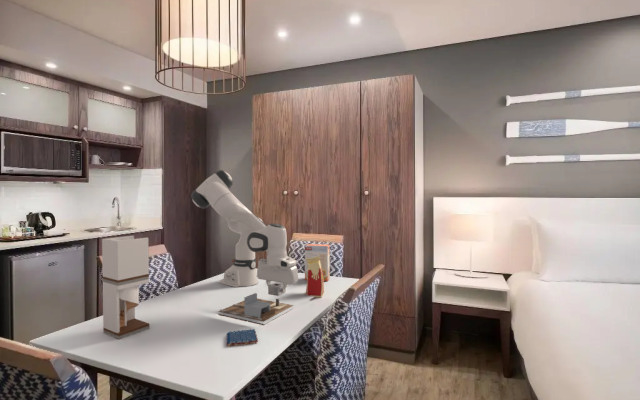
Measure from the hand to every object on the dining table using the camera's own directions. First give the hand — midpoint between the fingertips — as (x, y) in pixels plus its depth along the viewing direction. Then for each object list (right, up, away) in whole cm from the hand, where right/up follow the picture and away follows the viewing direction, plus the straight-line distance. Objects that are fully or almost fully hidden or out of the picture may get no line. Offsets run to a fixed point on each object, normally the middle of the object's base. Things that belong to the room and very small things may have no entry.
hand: (276, 291), depth 156 cm
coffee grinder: (-54, -9, -24) cm, 59 cm away
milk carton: (+16, -8, +22) cm, 29 cm away
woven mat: (-9, -10, -31) cm, 34 cm away
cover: (-7, -7, -11) cm, 14 cm away
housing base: (-8, -8, -3) cm, 12 cm away
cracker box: (+18, -7, +52) cm, 56 cm away
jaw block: (0, -1, 0) cm, 1 cm away
